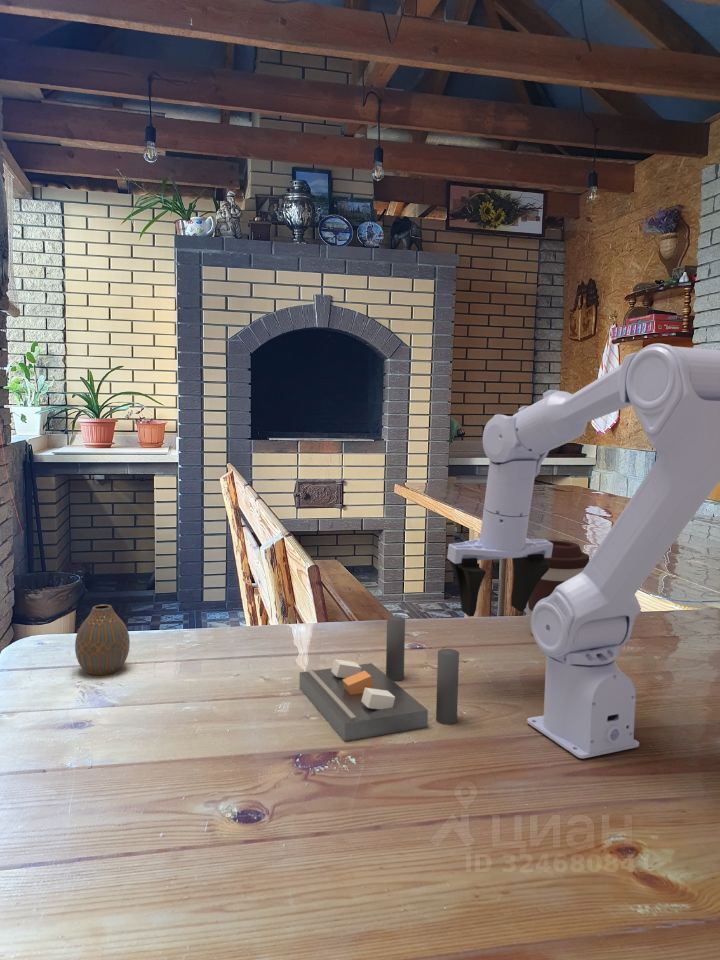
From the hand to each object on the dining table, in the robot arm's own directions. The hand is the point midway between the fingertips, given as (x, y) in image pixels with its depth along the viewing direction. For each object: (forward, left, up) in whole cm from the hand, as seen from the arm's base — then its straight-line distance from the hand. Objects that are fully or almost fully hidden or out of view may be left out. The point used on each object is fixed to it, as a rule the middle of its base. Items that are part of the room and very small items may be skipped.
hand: (493, 610), depth 92 cm
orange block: (-1, +19, -8) cm, 21 cm away
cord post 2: (-8, +11, -10) cm, 17 cm away
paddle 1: (+4, +19, -8) cm, 21 cm away
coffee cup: (+14, -21, -10) cm, 27 cm away
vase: (+22, +47, -10) cm, 53 cm away
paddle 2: (-6, +19, -8) cm, 21 cm away
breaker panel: (-1, +19, -10) cm, 21 cm away
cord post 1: (+6, +11, -10) cm, 16 cm away
